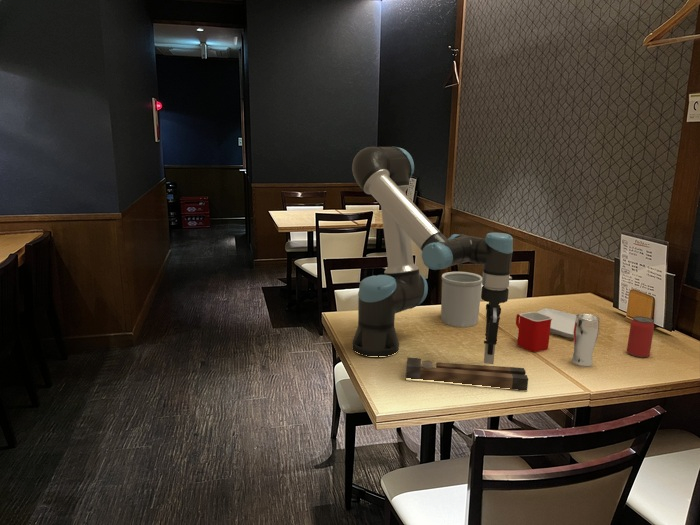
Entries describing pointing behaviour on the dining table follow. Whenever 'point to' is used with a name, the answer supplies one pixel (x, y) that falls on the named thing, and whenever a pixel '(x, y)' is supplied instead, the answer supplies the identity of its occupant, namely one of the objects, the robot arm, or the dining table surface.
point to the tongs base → (464, 375)
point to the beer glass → (585, 338)
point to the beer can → (640, 336)
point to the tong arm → (482, 368)
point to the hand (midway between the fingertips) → (488, 362)
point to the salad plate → (560, 322)
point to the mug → (533, 331)
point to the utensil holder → (460, 298)
